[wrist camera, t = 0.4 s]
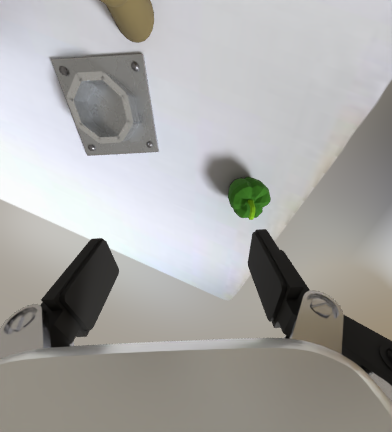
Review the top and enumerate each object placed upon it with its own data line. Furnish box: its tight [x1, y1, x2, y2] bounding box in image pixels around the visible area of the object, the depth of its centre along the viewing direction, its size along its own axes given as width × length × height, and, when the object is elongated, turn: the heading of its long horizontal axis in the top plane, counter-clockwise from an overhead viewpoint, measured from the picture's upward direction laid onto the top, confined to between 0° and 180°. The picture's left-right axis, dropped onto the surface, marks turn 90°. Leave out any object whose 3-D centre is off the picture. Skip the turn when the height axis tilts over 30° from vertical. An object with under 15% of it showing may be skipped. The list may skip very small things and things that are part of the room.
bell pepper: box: [228, 177, 271, 220], centre depth 35 cm, size 8×8×10 cm
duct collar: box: [51, 54, 159, 156], centre depth 29 cm, size 15×15×5 cm
